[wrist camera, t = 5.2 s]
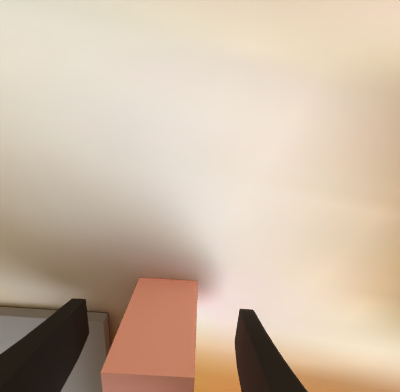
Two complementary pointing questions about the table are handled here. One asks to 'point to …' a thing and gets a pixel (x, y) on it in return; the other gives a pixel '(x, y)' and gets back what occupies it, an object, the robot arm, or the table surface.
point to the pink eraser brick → (155, 340)
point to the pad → (90, 356)
